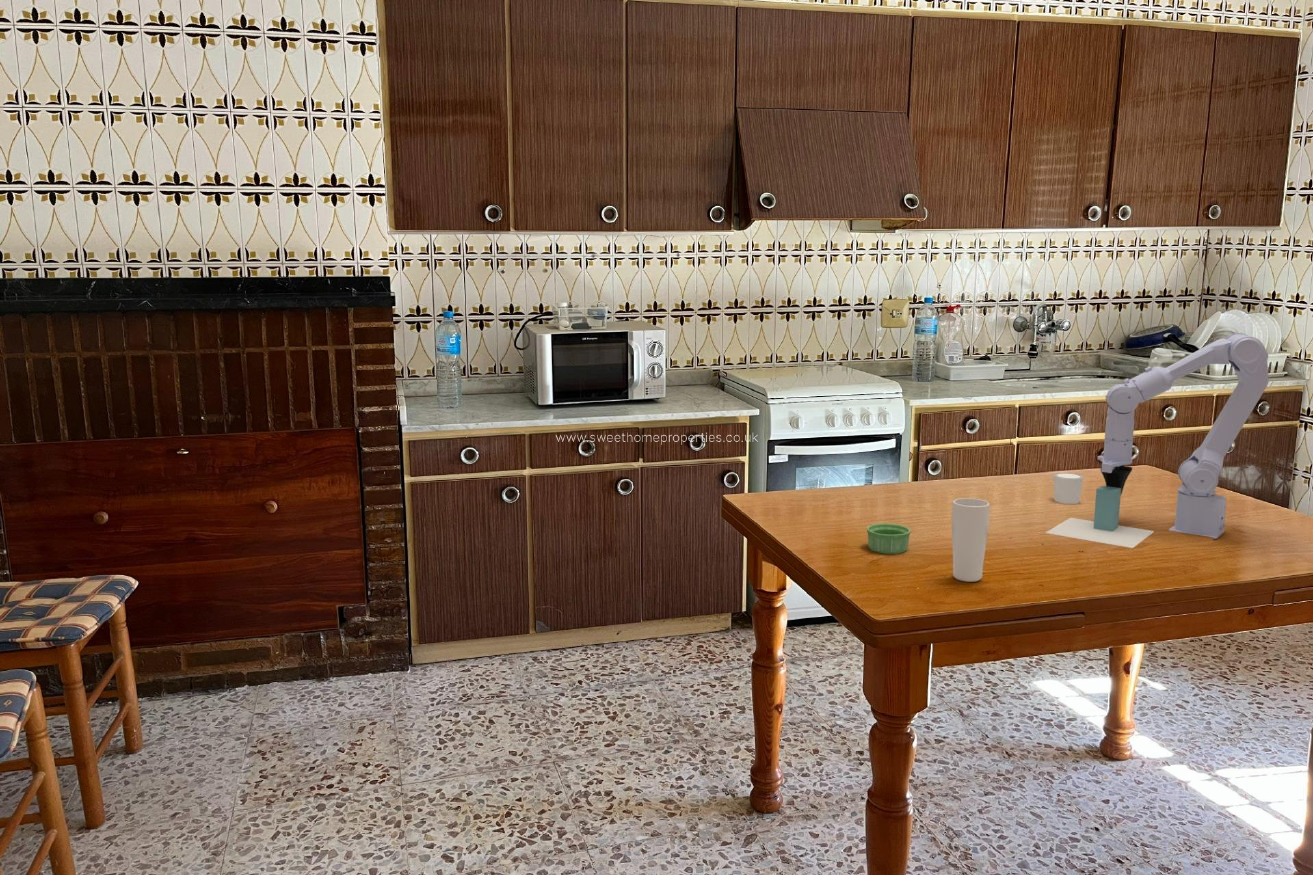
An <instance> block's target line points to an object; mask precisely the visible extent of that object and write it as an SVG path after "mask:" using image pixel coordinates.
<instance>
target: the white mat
mask: <svg viewBox="0 0 1313 875" xmlns="http://www.w3.org/2000/svg"><path fill="white" fill-rule="evenodd" d="M1153 533H1155V530H1151V529H1150V530H1148V529H1143V528H1138V527H1137V528H1136V527H1131V526H1124V525H1119V524H1118V528H1117V529H1116V530H1114V531H1113V532H1112V531H1106V530H1100V529H1094V520H1088V519H1083V518H1082V519H1080V518H1075V517H1069V518H1068V519H1066V520H1064V521H1062V522H1061V523H1059V524H1056V526H1054V527H1053V528H1051V529H1049V530H1047V531H1045V534H1049V535H1054V536H1059V537H1060V536H1061V537H1066V538H1072V539H1078V540H1083V541H1090V542H1095V543H1099V544H1100V543H1101V544H1107V545H1110V546H1111V545H1112V546H1118V547H1124V548H1130V549H1133V548H1135V547H1136V546H1138V545H1139V544H1140V543H1142V542H1143V541H1144V540H1145V539H1147V538H1148V537H1150V536H1151V535H1152V534H1153Z"/></svg>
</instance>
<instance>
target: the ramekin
mask: <svg viewBox="0 0 1313 875" xmlns="http://www.w3.org/2000/svg"><path fill="white" fill-rule="evenodd" d="M911 532H912V530H911V529H910V528H909V527H908V526H905V525H902V524H897V523H875V524H870V525H867V527H866V533H867V540H868V541H867V543H868V548H869V550H870V551H873V552H875V553H878V552H879V554H885V555H886V554H887V555H897V554H903V553H906V552H907V551H908V549H909V540H910V535H911Z"/></svg>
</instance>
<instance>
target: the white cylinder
mask: <svg viewBox="0 0 1313 875" xmlns="http://www.w3.org/2000/svg"><path fill="white" fill-rule="evenodd" d="M1084 478H1085V477H1084V476H1083V475H1081V474H1077V473H1071V472H1069V473H1068V472H1058V473H1054V474H1053V500H1054V502H1056V503H1060V504H1063V505H1065V504H1066V505H1075V504H1079V503H1080V500H1081V496H1082V489H1083V483H1084Z"/></svg>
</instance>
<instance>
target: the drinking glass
mask: <svg viewBox="0 0 1313 875" xmlns="http://www.w3.org/2000/svg"><path fill="white" fill-rule="evenodd" d="M952 501H953V502H952V508H951V538H952V541H951V542H952V544H951V545H952V565H953V566H952V576H953V577H954V578H955V579H956V580H958V581H962V582H968V583H971V582H974V583H975V582H978V581H980V580H981V579H982V578H983V568H984V561H985V554H986V547H987V539H988V534H989V533H988V532H989V527H990V526H989V525H990V502H989V501H987V500H984V499H980V498H973V497H962V498H956V499H954V500H952Z"/></svg>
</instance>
